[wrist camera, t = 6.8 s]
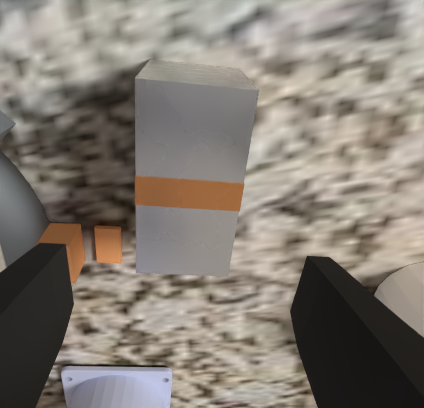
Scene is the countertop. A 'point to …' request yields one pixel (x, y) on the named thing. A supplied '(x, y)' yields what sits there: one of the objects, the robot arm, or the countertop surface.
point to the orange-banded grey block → (190, 165)
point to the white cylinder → (405, 295)
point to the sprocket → (30, 218)
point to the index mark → (108, 244)
